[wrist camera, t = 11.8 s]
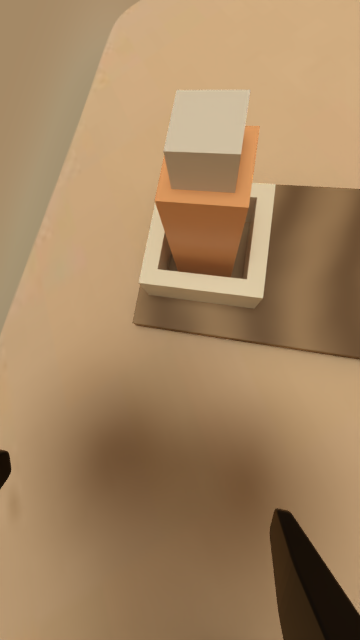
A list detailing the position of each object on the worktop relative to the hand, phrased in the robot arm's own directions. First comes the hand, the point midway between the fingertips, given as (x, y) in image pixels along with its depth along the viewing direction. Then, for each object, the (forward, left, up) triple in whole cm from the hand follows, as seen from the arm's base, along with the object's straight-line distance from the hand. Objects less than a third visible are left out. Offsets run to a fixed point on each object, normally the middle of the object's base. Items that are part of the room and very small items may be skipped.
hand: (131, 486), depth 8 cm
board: (+5, -14, -12) cm, 19 cm away
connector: (+9, -10, -10) cm, 17 cm away
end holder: (+9, -10, -10) cm, 17 cm away
